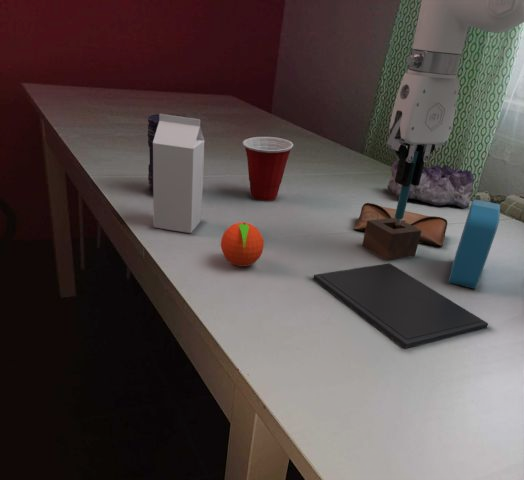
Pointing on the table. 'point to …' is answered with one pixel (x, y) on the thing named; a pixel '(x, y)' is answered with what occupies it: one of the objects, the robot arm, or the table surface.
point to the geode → (438, 186)
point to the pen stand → (391, 238)
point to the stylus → (404, 196)
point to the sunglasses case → (428, 225)
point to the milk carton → (178, 173)
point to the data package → (475, 243)
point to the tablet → (400, 304)
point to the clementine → (242, 244)
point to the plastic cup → (266, 165)
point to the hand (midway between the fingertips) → (406, 183)
